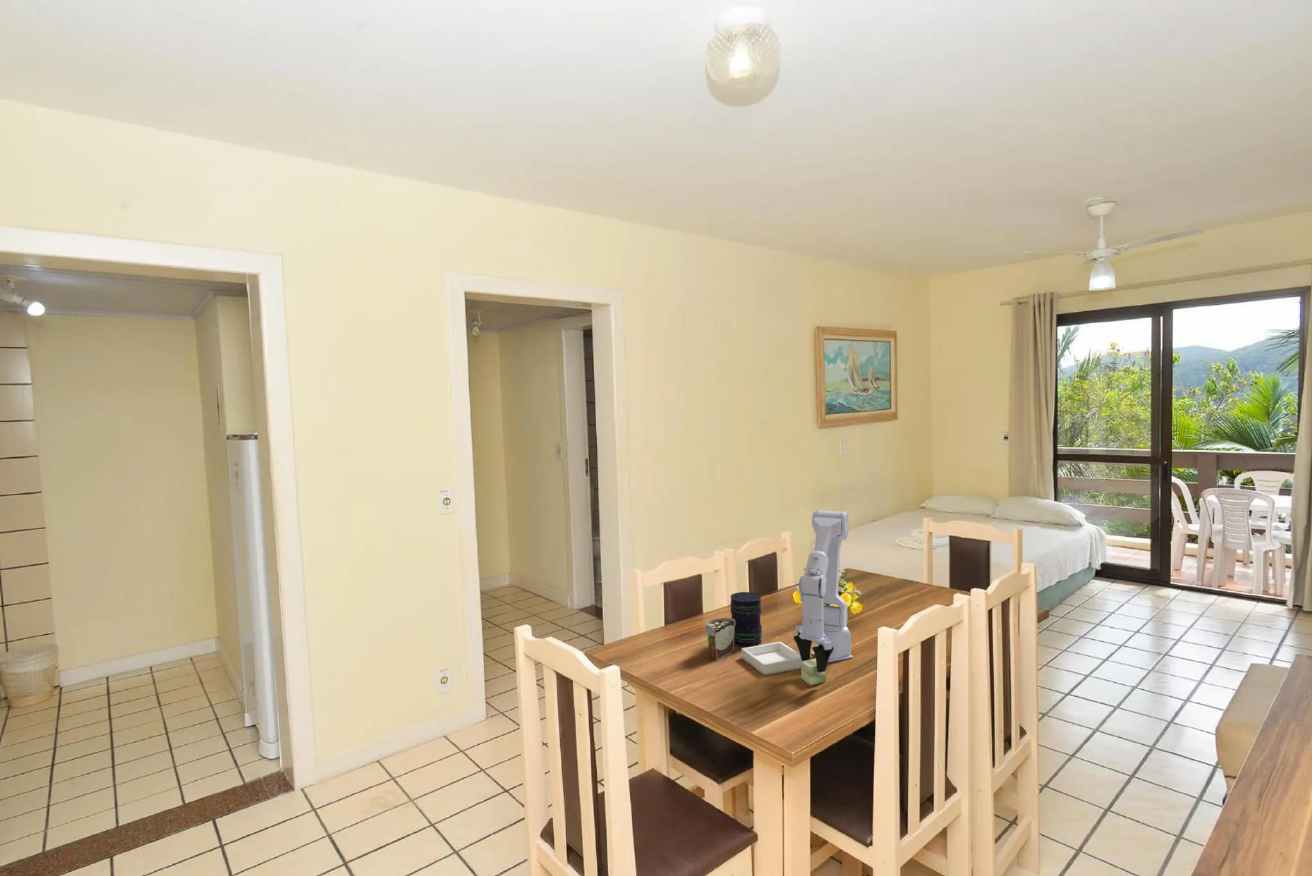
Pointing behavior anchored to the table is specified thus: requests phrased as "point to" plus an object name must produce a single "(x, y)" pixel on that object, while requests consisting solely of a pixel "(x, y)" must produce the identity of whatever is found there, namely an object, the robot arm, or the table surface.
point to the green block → (811, 672)
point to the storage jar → (746, 618)
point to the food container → (720, 637)
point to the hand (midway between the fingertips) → (813, 666)
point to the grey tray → (772, 658)
